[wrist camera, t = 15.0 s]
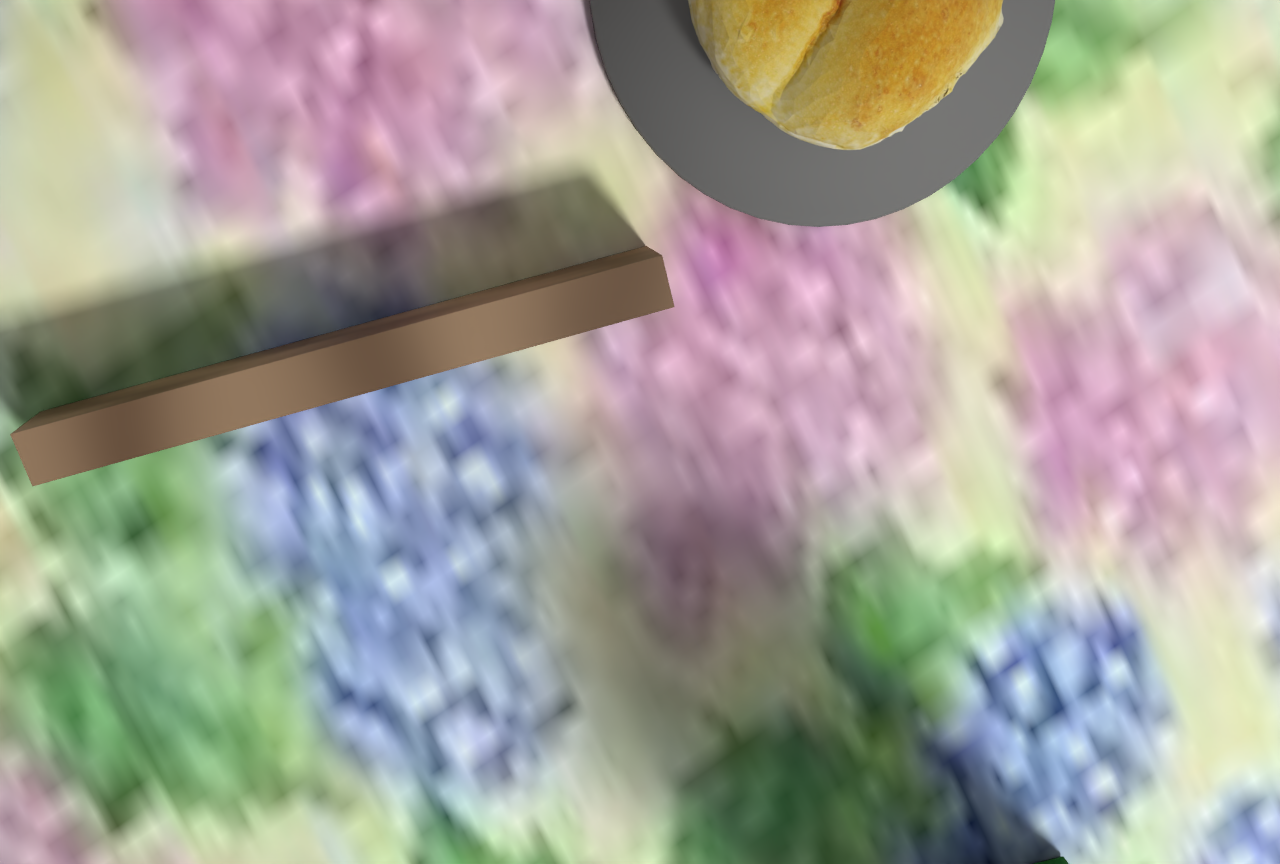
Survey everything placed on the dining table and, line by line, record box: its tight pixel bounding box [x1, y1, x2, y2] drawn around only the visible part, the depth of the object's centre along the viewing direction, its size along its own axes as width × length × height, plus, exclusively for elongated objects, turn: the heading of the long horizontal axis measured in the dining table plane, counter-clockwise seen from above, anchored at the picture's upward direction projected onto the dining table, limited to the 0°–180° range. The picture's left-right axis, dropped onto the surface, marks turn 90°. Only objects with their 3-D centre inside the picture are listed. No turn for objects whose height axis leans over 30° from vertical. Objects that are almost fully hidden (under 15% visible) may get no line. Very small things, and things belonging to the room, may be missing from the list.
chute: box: [10, 246, 674, 486], centre depth 31 cm, size 18×15×2 cm
